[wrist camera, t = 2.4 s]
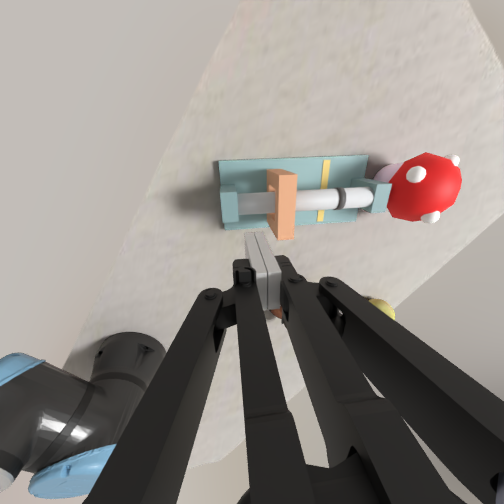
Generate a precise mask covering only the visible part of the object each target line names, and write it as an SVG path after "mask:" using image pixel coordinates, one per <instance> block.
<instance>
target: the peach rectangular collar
mask: <svg viewBox="0 0 504 504" xmlns="http://www.w3.org/2000/svg"><path fill="white" fill-rule="evenodd" d="M297 176H298V174H295V173H292V172H289V171H286V170H283V169H267V192H275V213H267V223H268V225H269V226H270V228H271V230H272V231H273V233H274V235H275V237H276V238H277V240H289V239H294V226H295V209H296V193H297Z"/></svg>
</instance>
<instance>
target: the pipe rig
mask: <svg viewBox="0 0 504 504" xmlns="http://www.w3.org/2000/svg"><path fill="white" fill-rule="evenodd" d="M368 156H369V155H351V156H326V157H300V158H275V159H249V160H224V161H219V172H220V183H221V187H220V200H221V210H222V220H223V223H224V226H225V230H236V229H250V228H265V227H270V226H269V225H268V223H267V213H275V192H267V169H283V170H286V171H289V172H292V173H295V174H298V176H297V193H296V209H295V225H308V224H323V223H337V222H352V221H356V218H357V212H358V208H360V209H363V210H365V211H367V212H370V213H380V212H385V210H386V206H387V202H388V198H389V195H390V191H391V187H392V184H391V183H386V182H381V181H376V180H371V179H367V178H364V176H365V171H366V166H367V161H368Z"/></svg>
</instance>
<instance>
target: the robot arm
mask: <svg viewBox="0 0 504 504" xmlns="http://www.w3.org/2000/svg"><path fill="white" fill-rule="evenodd" d="M244 235H245V255H246V259H237V260H235V261H234V262H233V280H234V285H233V287H232V288H230V289H229V290H227V291H224V292H222V291H221V290H219V289H217V288H208V289H205V290H203V291H202V292H201V293H200V294H199V295H198V297H197V299H196V301H195V302H194V304H193V306H192V308H191V310H190V311H189V313H188V315H187V317H186V319H185V321H184V322H183V324H182V326H181V328H180V330H179V331H178V333H177V335H176V337H175V339H174V340H173V342H172V344H171V346H170V348H169V350H168V351H167V353H166V351H165V349H164V347H163V346H162V344H161V343H160V342H159V341H157V340H156V339H154V338H152V337H150V336H148V335H145V334H141V333H134V332H126V333H119V334H116V335H113V336H111V337H109V338H108V339H106V340H105V341H104V342H103V344H102V345H101V347H100V348H99V350H98V351H97V354H96V356H95V361H94V365H93V370H92V375H91V379H90V381H89V382H87V381H85V380H83V379H81V378H79V377H77V376H75V375H72V374H70V373H68V372H66V371H64V370H62V369H59V368H57V367H55V366H53V365H51V364H49V363H47V362H45V360H39V359H36V358H34V357H31V356H29V355H26V354H24V353H12V354H9V355H7V356H5V357H3V358H1V359H0V492H2V491H4V490H5V489H7V488H8V487H10V486H11V485H12V483H13V482H14V480H15V478H16V477H17V476H18V474H19V473H20V471H21V470H23V471H27V472H31V473H34V475H33V477H32V478H31V480H30V484H29V487H28V490H29V493H30V494H34V496H35V497H39V498H45V499H58V498H70V497H76V496H81V495H85V494H89V495H88V497H87V498H86V499H85V500H84V502H83V503H82V504H176V502H177V499H178V496H179V492H180V489H181V485H182V482H183V479H184V475H185V472H186V468H187V465H188V461H189V458H190V455H191V451H192V448H193V444H194V441H195V437H196V434H197V430H198V427H199V424H200V420H201V417H202V413H203V410H204V406H205V403H206V400H207V396H208V393H209V389H210V386H211V382H212V379H213V375H214V372H215V369H216V365H217V362H218V358H219V355H220V351H221V348H222V345H223V341H224V338H225V334H226V328H228V327H231V326H233V325H236V324H237V331H238V343H239V356H240V369H241V382H242V394H243V407H244V421H245V434H246V447H247V459H248V472H249V485H250V488H249V489H248V490H247V491H246V492H245V494H244V495H243V496H242V497H241V499H240V500H239V502H238V503H237V504H466V503H465V502H464V501H462V500H461V499H460V498H459V497H458V496H456V495H455V494H454V493H453V492H451V491H450V490H449V489H448V487H447V486H446V484H445V483H444V481H443V480H442V478H441V476H440V475H439V473H438V472H437V470H436V469H435V467H434V466H433V464H432V463H431V461H430V460H429V458H428V457H427V455H426V453H425V452H424V450H423V449H422V448H421V446H420V444H419V443H418V441H417V440H416V438H415V437H414V435H413V434H412V432H411V431H410V429H409V427H408V426H407V424H406V423H405V421H406V422H407V423H408V424H409V425H410V427H411V428H412V429H413V430H414V431H415V432H416V433H417V434H418V436H419V437H420V438H421V439H422V440H423V441H424V442H425V444H427V446H428V447H429V448H430V449H431V450H432V452H434V454H435V455H436V456H437V457H438V458H439V459H440V460H441V462H442V463H443V464H444V465H445V466H446V467H447V468H448V469H449V470H450V471H451V472H452V473H453V475H454V476H455V477H456V478H457V479H458V480H459V481H460V482H461V483H462V484H463V485H464V486H465V487H466V488H467V489H468V490H469V491H470V492H472V493H473V494H474V495H475V496H476V497H477V498H478V499H479V500H480V501H481V502H482V503H483V504H504V401H502V400H501V399H500V398H498V397H497V396H495V395H494V394H493V393H491V392H490V391H489V390H487V389H486V388H485V387H483V386H482V385H481V384H479V383H478V382H477V381H475V380H474V379H473V378H471V377H470V376H469V375H467V374H466V373H464V372H463V371H462V370H461V369H459V368H458V367H457V366H455V365H454V364H452V363H451V362H450V361H448V360H447V359H446V358H444V357H443V356H442V355H440V354H439V353H438V352H436V351H435V350H434V349H432V348H431V347H430V346H428V345H427V344H426V343H424V342H423V341H421V340H420V339H419V338H418V337H416V336H415V335H414V334H412V333H411V332H410V331H408V330H407V329H405V328H404V327H403V326H401V325H400V324H399V323H397V322H396V321H395V320H393V319H392V318H391V317H389V316H388V315H387V314H385V313H384V312H383V311H381V310H380V309H379V308H377V307H376V306H375V305H373V304H372V303H371V302H369V301H368V300H367V299H365V298H364V297H362V296H361V295H360V294H358V293H357V292H356V291H354V290H353V289H352V288H350V287H349V286H348V285H346V284H345V283H344V282H342V281H341V280H339V279H337V278H334V277H323V278H321V279H320V281H319V283H312V282H307V281H306V279H305V278H304V277H303V276H302V275H300V274H297V272H296V270H295V269H294V267H293V266H292V264H291V262H290V260H289V258H287V257H286V256H284V255H280V256H274V254H273V252H272V250H271V248H270V246H269V244H268V241H267V239H266V237H265V235H264V233H263V231H262V232H254V233H253V232H248V233H244ZM280 302H281V305H282V324H283V323H284V321H285V324H286V327H287V330H288V333H289V336H290V339H291V342H292V345H293V348H294V351H295V354H296V357H297V360H298V363H299V366H300V369H301V372H302V375H303V378H304V381H305V384H306V387H307V390H308V392H309V396H310V399H311V402H312V405H313V407H314V411H315V414H316V417H317V420H318V422H319V426H320V429H321V432H322V434H323V437H324V440H325V444H326V449H327V457H328V463H329V468H324V467H319V466H313V465H308V464H306V463H305V460H304V456H303V452H302V448H301V444H300V441H299V437H298V433H297V429H296V425H295V422H294V418H293V416H292V413H291V412H290V411H289V410H288V408H287V404H286V400H285V396H284V392H283V388H282V384H281V380H280V376H279V372H278V368H277V364H276V360H275V356H274V352H273V348H272V344H271V340H270V336H269V332H268V328H267V324H266V320H265V316H264V312H263V310H267V307H268V310H272V309H280ZM339 310H340V311H341V312H342V313H343V315H342V314H340V313H339ZM362 372H363V373H364V374H365V376H366V377H367V378H368V379H369V380H370V381H371V382H372V384H373V385H374V386H375V387H376V388H377V389H378V390H379V392H380V393H381V394H382V395H383V396H384V397H385V398H381V397H379V396H377V395H376V394H375V392H374V391H373V389H372V388H371V386H370V384H369V383H368V381H367V380H366V378H365V376H364V374H363V373H362ZM401 416H402V417H401ZM403 419H404V420H405V421H404V420H403Z"/></svg>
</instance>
